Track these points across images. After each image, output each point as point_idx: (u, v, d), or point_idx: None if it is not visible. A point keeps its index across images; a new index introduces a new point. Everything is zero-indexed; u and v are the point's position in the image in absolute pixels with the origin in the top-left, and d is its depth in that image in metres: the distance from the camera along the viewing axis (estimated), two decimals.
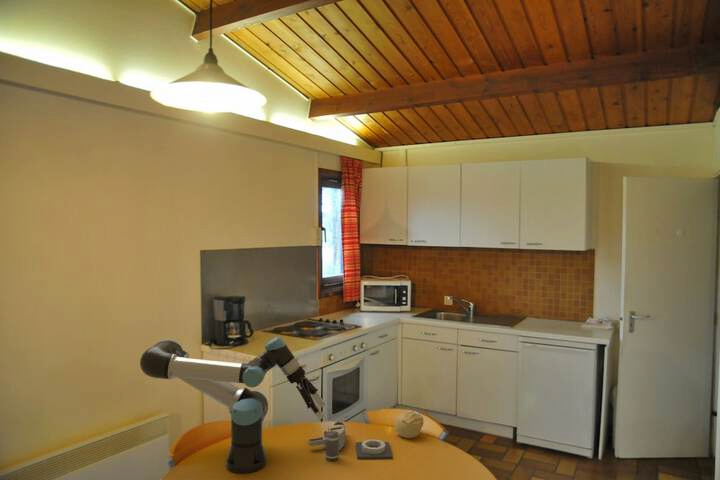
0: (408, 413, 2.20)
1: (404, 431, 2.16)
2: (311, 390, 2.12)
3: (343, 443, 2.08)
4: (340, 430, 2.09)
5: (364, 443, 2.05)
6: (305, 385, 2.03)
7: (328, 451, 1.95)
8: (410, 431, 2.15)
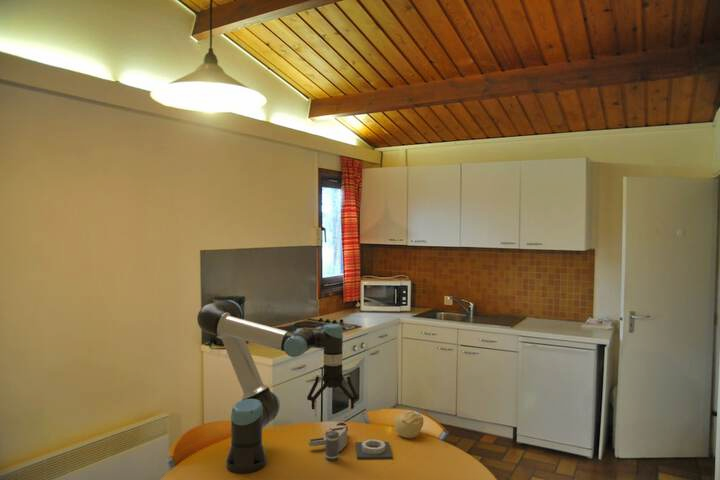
0: (408, 413, 2.20)
1: (404, 431, 2.16)
2: None
3: (344, 444, 2.07)
4: (341, 431, 2.08)
5: (364, 443, 2.05)
6: (325, 383, 1.96)
7: (328, 451, 1.95)
8: (410, 431, 2.15)
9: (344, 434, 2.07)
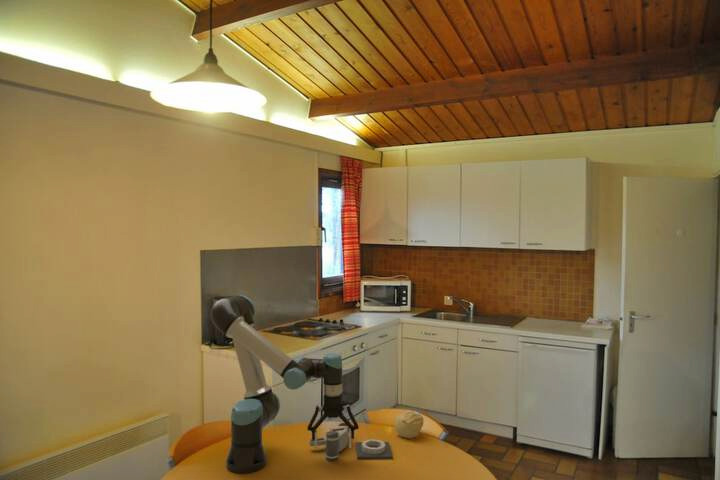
0: (408, 413, 2.20)
1: (404, 431, 2.16)
2: None
3: (344, 444, 2.06)
4: (342, 431, 2.08)
5: (364, 443, 2.05)
6: (325, 413, 1.96)
7: (328, 451, 1.95)
8: (410, 431, 2.15)
9: (345, 435, 2.07)
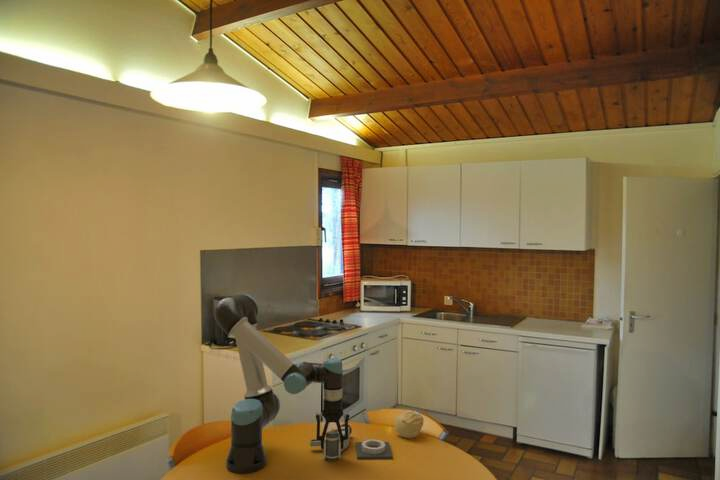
0: (408, 413, 2.20)
1: (404, 431, 2.16)
2: None
3: (345, 445, 2.05)
4: (342, 432, 2.07)
5: (364, 443, 2.05)
6: (326, 419, 1.96)
7: (328, 451, 1.95)
8: (410, 431, 2.15)
9: None
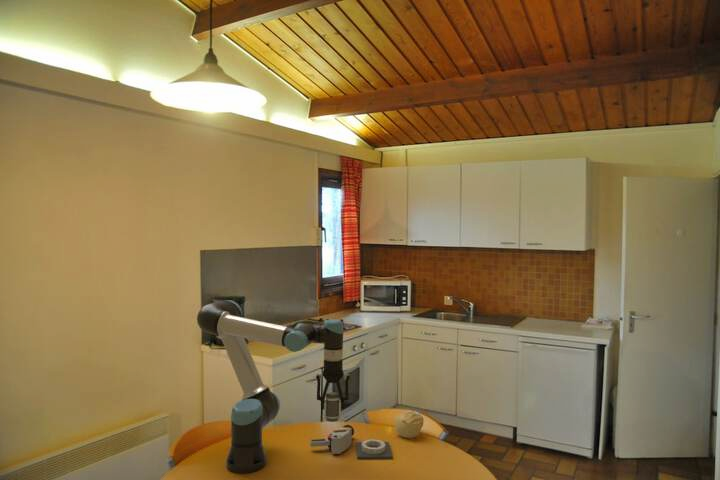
0: (408, 413, 2.20)
1: (404, 431, 2.16)
2: (339, 393, 1.97)
3: (345, 446, 2.04)
4: (343, 433, 2.06)
5: (364, 443, 2.05)
6: (327, 380, 1.96)
7: (328, 411, 1.95)
8: (410, 431, 2.15)
9: (346, 436, 2.05)
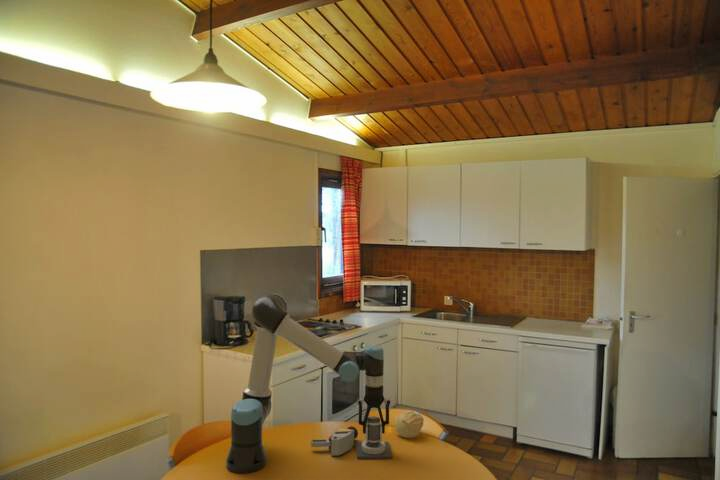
0: (408, 413, 2.20)
1: (404, 431, 2.16)
2: (380, 418, 2.04)
3: (346, 448, 2.03)
4: (344, 435, 2.04)
5: (364, 443, 2.05)
6: (368, 405, 2.03)
7: (370, 435, 2.02)
8: (410, 431, 2.15)
9: (346, 438, 2.03)
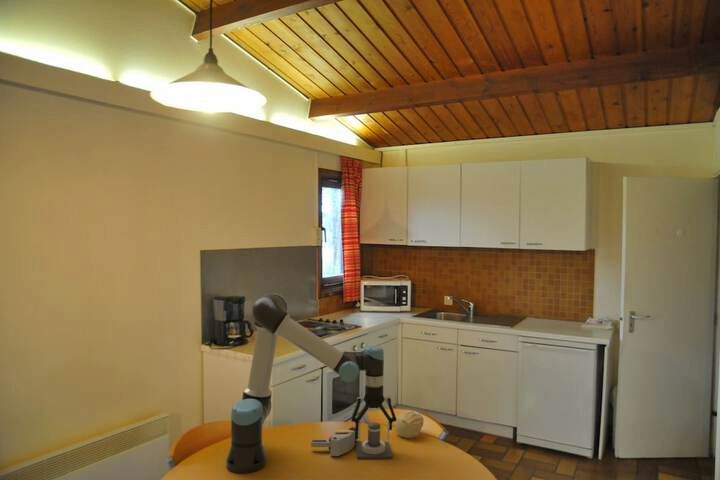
0: (408, 413, 2.20)
1: (404, 431, 2.16)
2: None
3: (346, 449, 2.02)
4: (344, 435, 2.04)
5: (364, 443, 2.05)
6: (367, 404, 2.03)
7: (370, 442, 2.02)
8: (410, 431, 2.15)
9: (346, 439, 2.02)
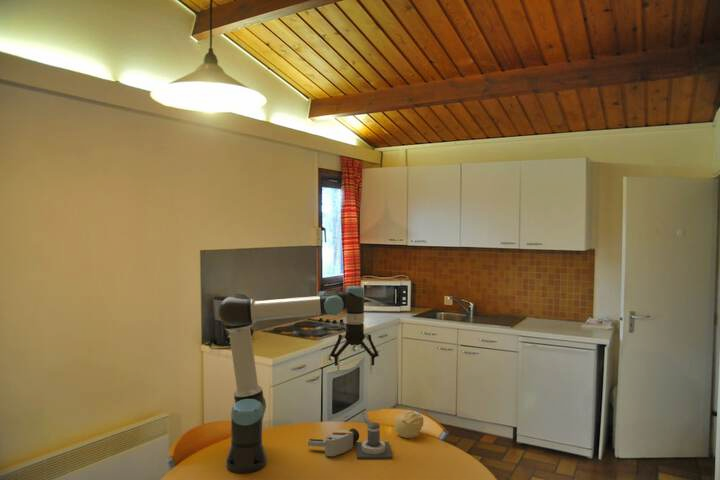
0: (408, 413, 2.20)
1: (404, 431, 2.16)
2: None
3: (341, 450, 2.01)
4: (340, 436, 2.03)
5: (364, 443, 2.05)
6: (347, 341, 2.08)
7: (370, 442, 2.02)
8: (410, 431, 2.15)
9: (342, 440, 2.01)
